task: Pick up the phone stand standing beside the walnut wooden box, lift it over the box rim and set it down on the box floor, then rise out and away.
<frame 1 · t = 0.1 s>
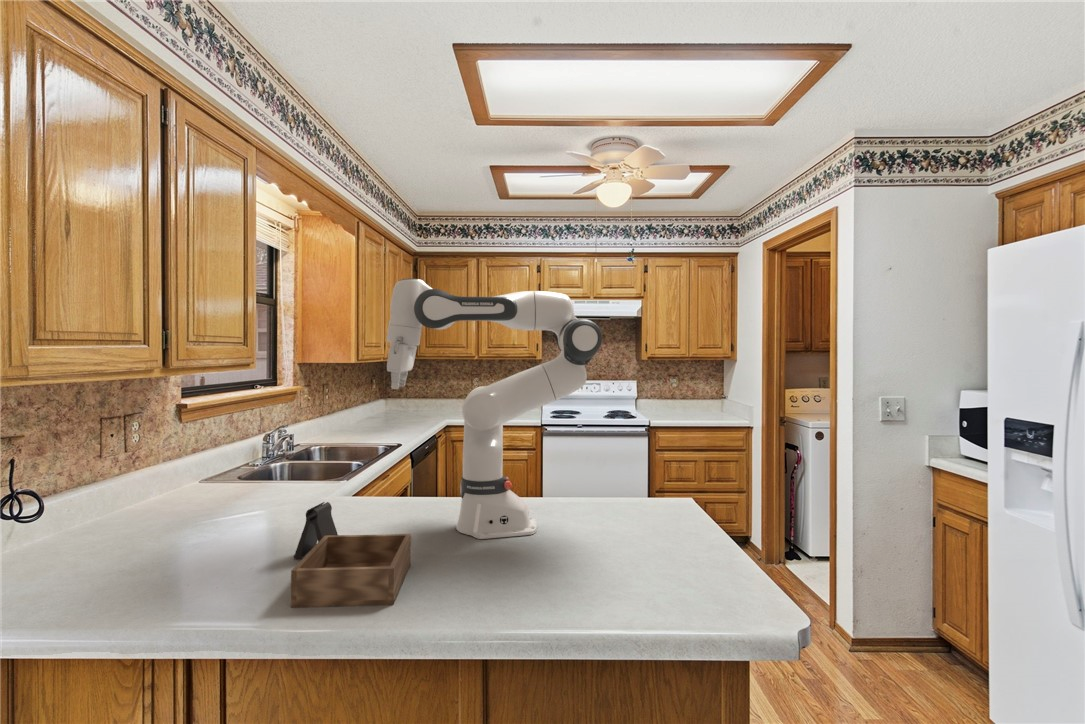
hand: (398, 387, 141), 39 cm above the counter, tool pointing down, fingers open, 8 cm apart
phone stand: (318, 556, 123), on the counter
walnut box: (356, 584, 108), on the counter
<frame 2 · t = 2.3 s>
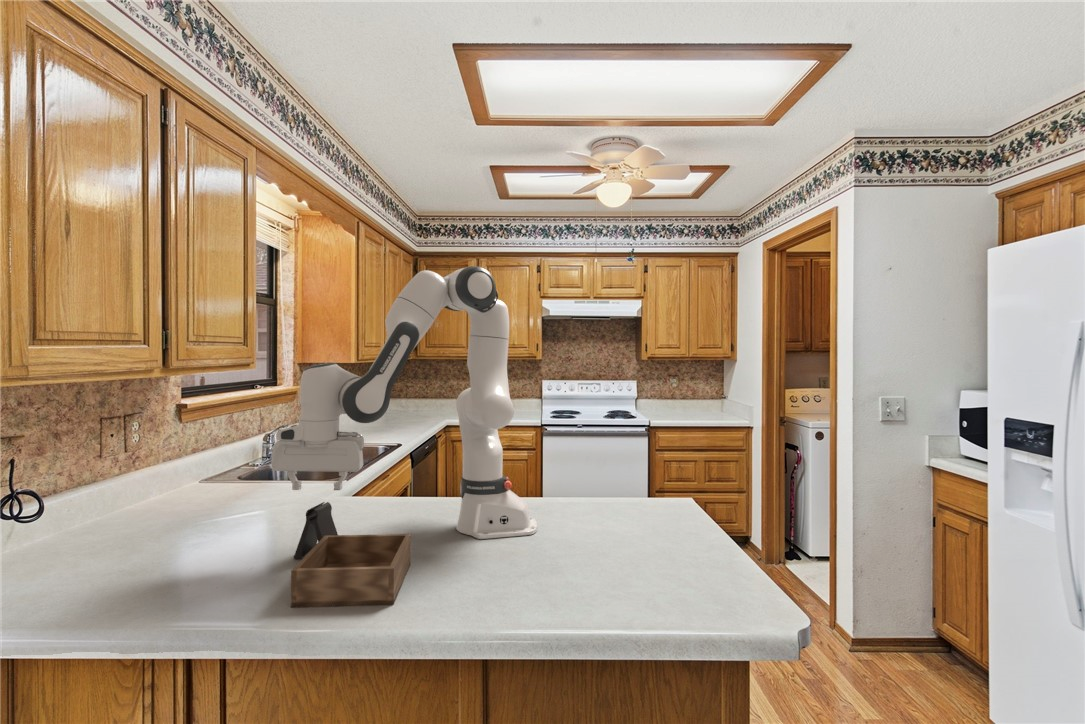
hand: (317, 489, 122), 16 cm above the counter, tool pointing down, fingers open, 8 cm apart
nothing on the counter moved.
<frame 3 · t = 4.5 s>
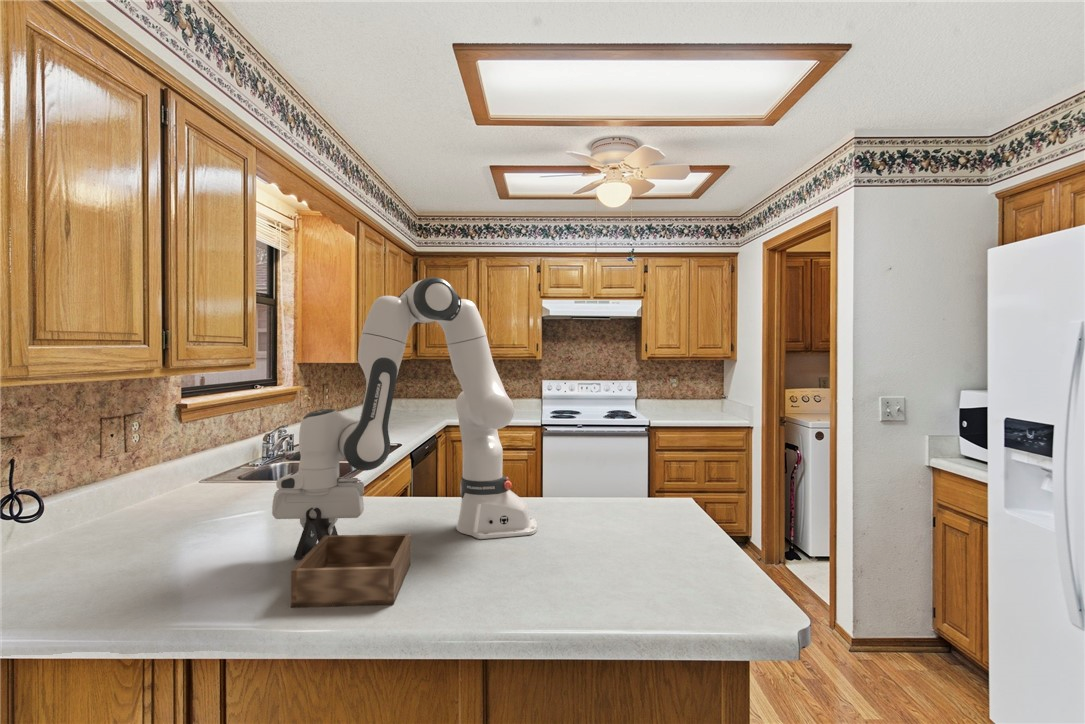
hand: (318, 536, 123), 5 cm above the counter, tool pointing down, fingers closed on phone stand, 3 cm apart
phone stand: (318, 556, 123), on the counter, touching gripper
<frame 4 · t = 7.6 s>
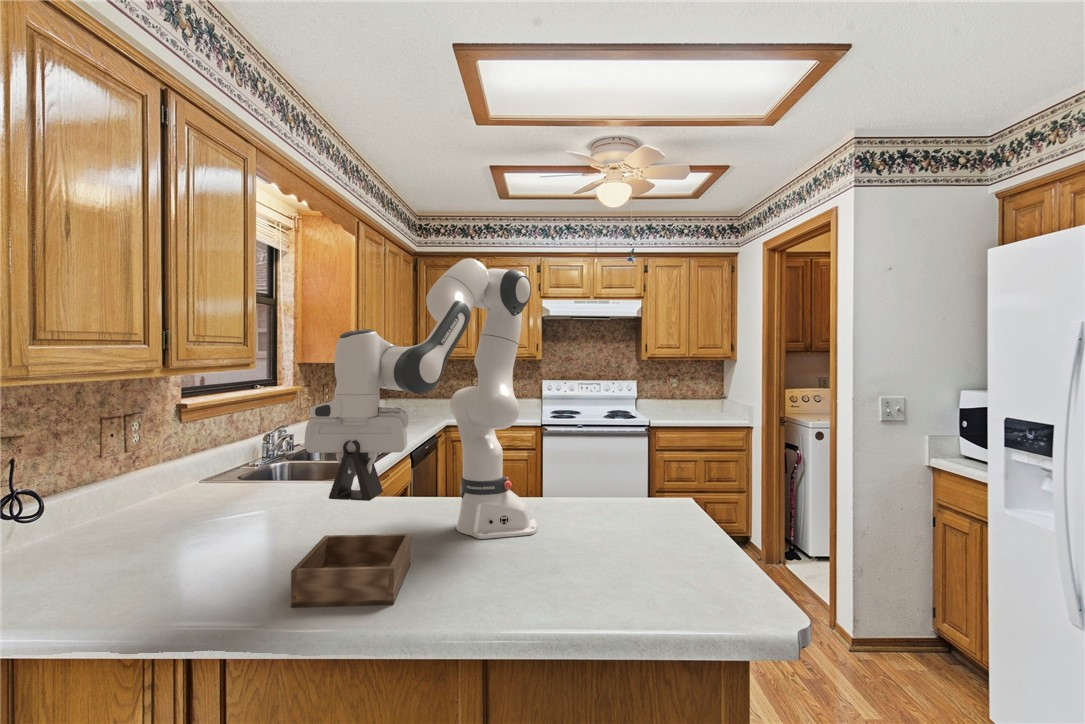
hand: (356, 473, 108), 23 cm above the counter, tool pointing down, fingers closed on phone stand, 3 cm apart
phone stand: (356, 496, 108), point 18 cm above the counter, touching gripper
when the fingers open (8 cm above the counter, at t = 10.8 s): phone stand drops 2 cm, resting on walnut box.
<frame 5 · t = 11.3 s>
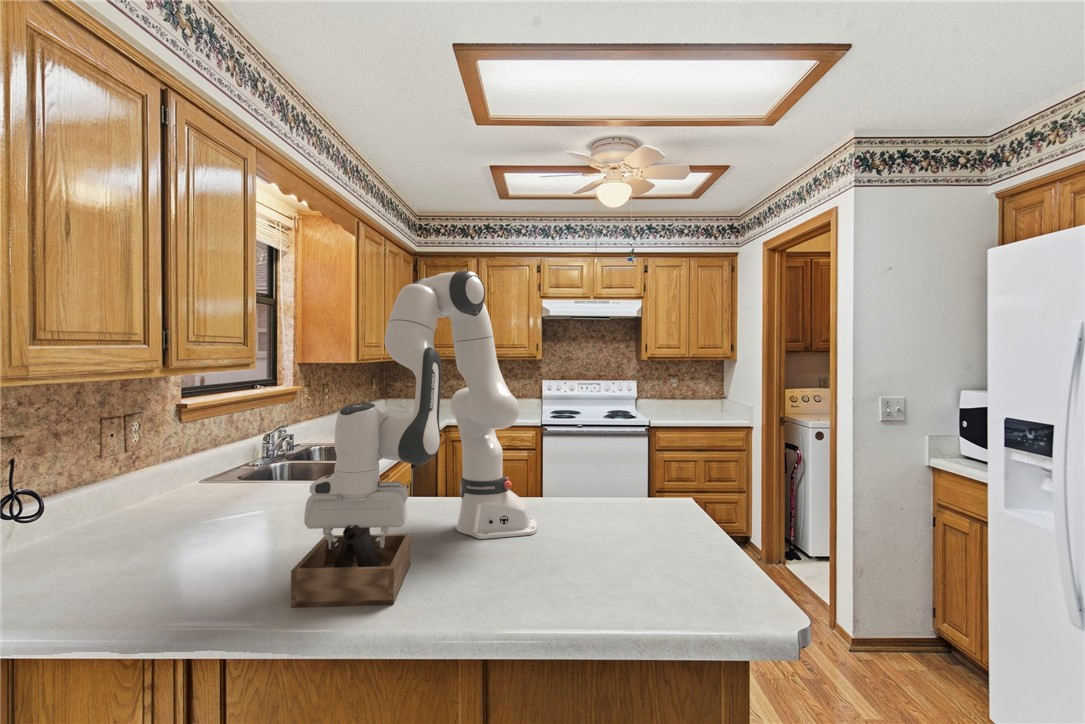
hand: (356, 547, 108), 8 cm above the counter, tool pointing down, fingers open, 8 cm apart
phone stand: (356, 580, 108), point 1 cm above the counter, touching walnut box
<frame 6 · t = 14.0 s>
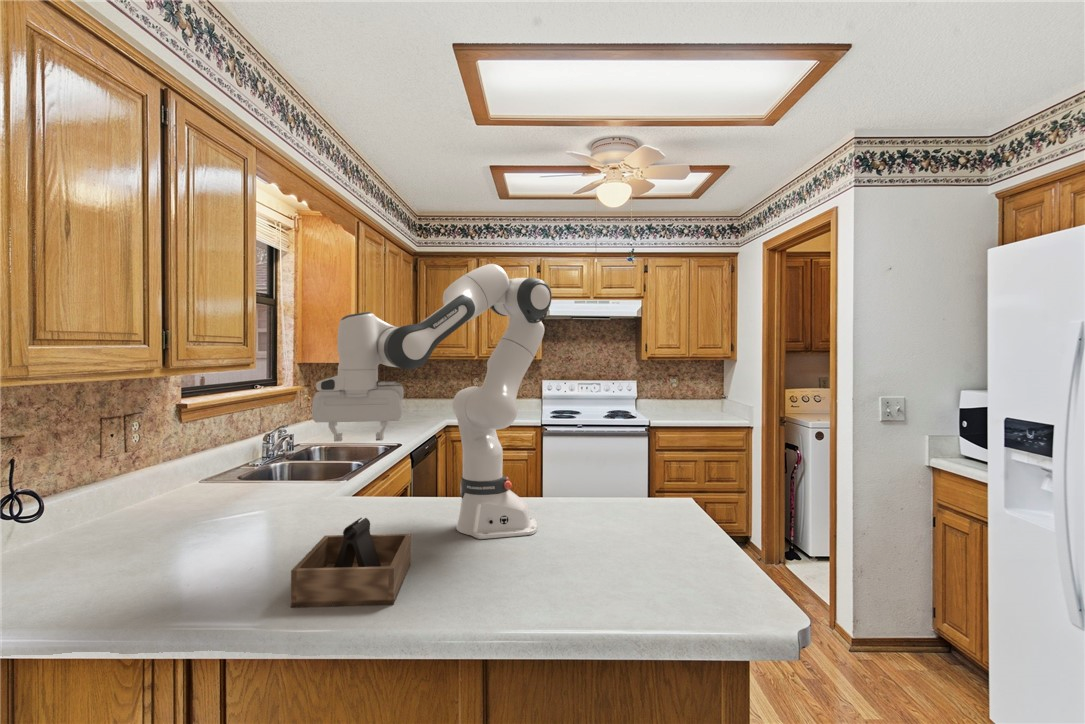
hand: (359, 440, 121), 28 cm above the counter, tool pointing down, fingers open, 8 cm apart
nothing on the counter moved.
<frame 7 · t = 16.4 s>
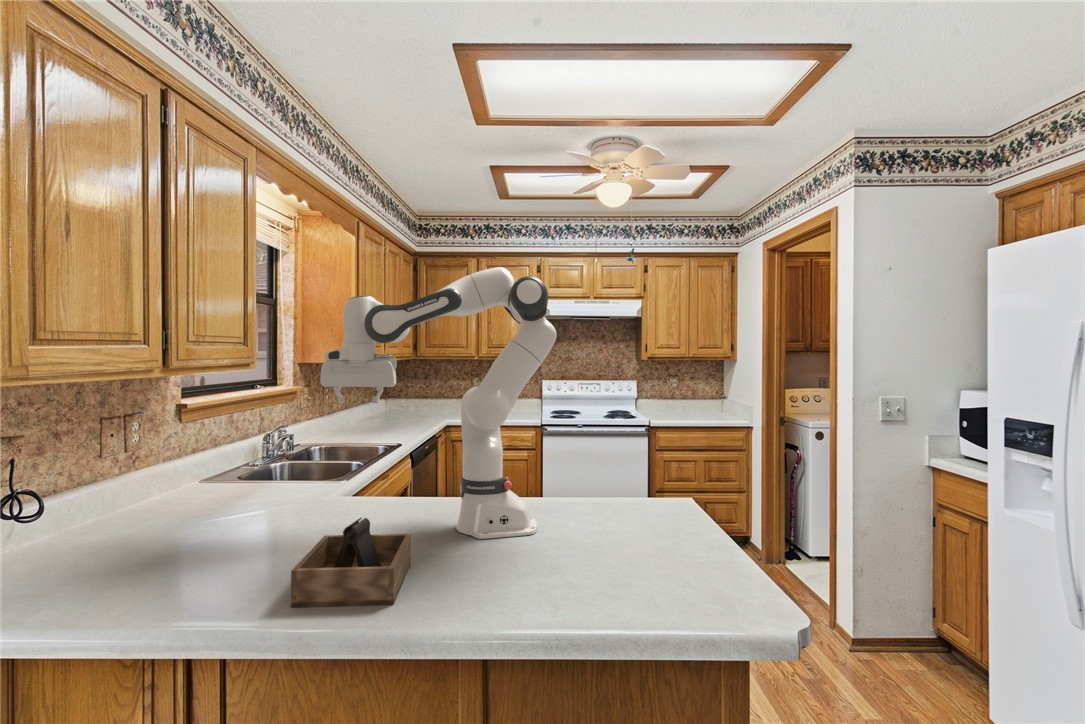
hand: (358, 403, 145), 34 cm above the counter, tool pointing down, fingers open, 8 cm apart
nothing on the counter moved.
at the end: phone stand inside the target area on the walnut box (0.0 cm from its centre), point 0.8 cm above the walnut box's base; the gripper is holding nothing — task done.
